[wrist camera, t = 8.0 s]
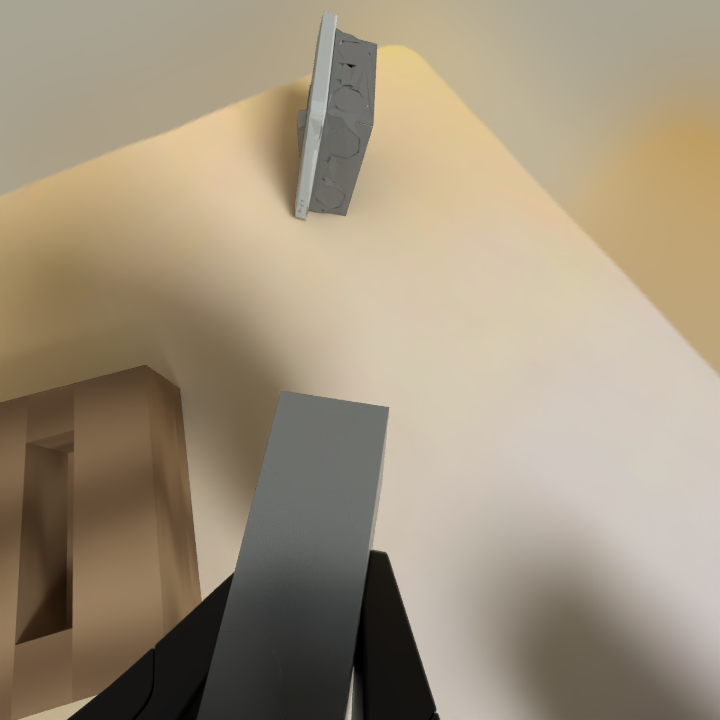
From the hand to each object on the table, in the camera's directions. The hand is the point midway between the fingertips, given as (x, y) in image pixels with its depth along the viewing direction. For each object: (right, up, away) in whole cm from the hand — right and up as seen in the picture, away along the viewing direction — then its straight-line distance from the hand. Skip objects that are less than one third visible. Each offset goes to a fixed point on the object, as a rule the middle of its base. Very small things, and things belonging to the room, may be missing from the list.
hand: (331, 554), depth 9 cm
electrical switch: (-1, +19, +22) cm, 29 cm away
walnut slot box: (-14, -5, +13) cm, 19 cm away
